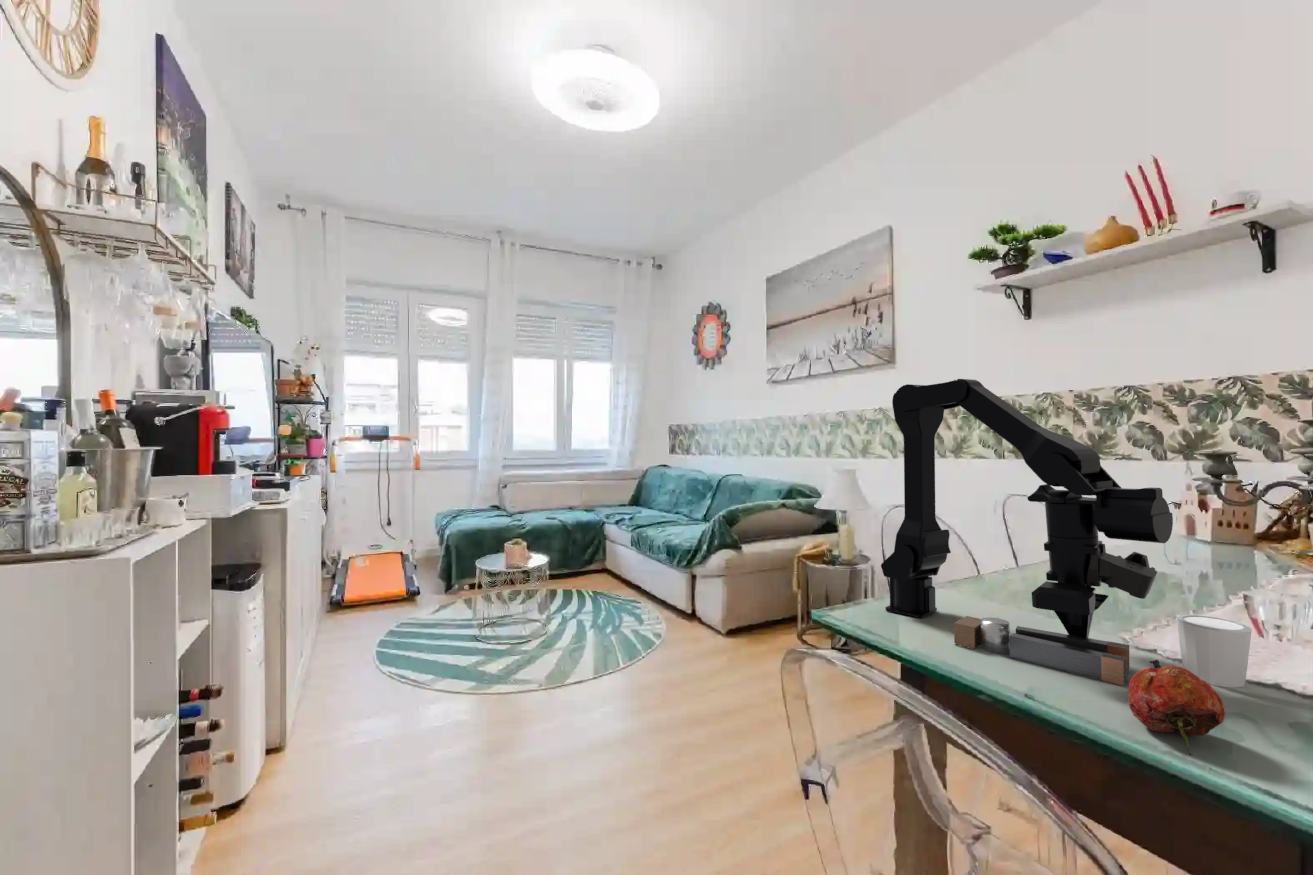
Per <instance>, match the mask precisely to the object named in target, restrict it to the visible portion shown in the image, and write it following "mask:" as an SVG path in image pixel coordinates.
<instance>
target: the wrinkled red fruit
mask: <svg viewBox="0 0 1313 875" xmlns="http://www.w3.org/2000/svg"><path fill="white" fill-rule="evenodd" d="M1149 663H1150V664H1152V665H1153V667H1152V666H1149V667H1146V668H1143V669H1141V670H1139V671H1137V672H1135V674H1134V675H1133V676H1132V677H1131V679H1130V680H1129V683H1128V688H1127V689H1128V690H1127V694H1128V695H1127V696H1128V706H1129V709H1130V712H1132V715H1133V716H1134V717H1135V718H1136V720H1138V721H1139V722H1140V723H1141V724H1142V725H1143V726H1145V727H1146V728H1147V729H1148V730H1150V731H1153V732H1155V733H1156V732H1157V733H1158V732H1159V733H1174V734H1175V733H1176V734H1180V735H1181V737H1182V739H1183V741H1184V743H1185V746H1186V748H1187V751H1188V753H1189V756H1192V752H1191V748H1190V747H1191V746H1190V745H1189V737H1188V736H1205V735H1207V734H1209V732H1210V731H1211V730H1213V729H1215V728H1216V727H1219V725H1221V724H1223V722H1224V720H1225V717H1226V710H1225V705H1224V702H1223V699H1222V698H1221V696H1220V694H1218V692H1217V691H1216V690H1215V689H1214V688H1213V687H1212V686H1211V684H1208V683H1206V682H1205V681H1203V680H1201V679H1200V678H1199V677H1198V676H1196V675H1194V674H1193V673H1191V672H1190V671H1188V670H1187V669H1184V668H1183V667H1181V666H1176V665H1175V666H1174V665H1166V666H1163V667H1162V666H1161V664H1160V661H1159V660H1158V659H1154V660H1152V661H1149Z"/></svg>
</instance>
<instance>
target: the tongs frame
mask: <svg viewBox="0 0 1313 875" xmlns="http://www.w3.org/2000/svg"><path fill="white" fill-rule="evenodd" d="M953 626H954V628H953V630H954V631H953V632H954V633H953V635H954V637H953V638H954V643H956V644H958V645H961V646H960V647H962V646H963V648H966V647H969V648H968V649H970V648H972V649H971V650H977V649H979V647H980V648H981V649H982V650H984V651H986V652H989V653H992V654H1004V655H1005V654H1009V658H1010V659H1016V660H1020V661H1023V662H1028V663H1032V664H1035V665H1039V666H1044V667H1047V668H1050V669H1051V668H1052V669H1055V670H1059V671H1064V672H1067V673H1072V674H1075V675H1080V676H1084V677H1088V678H1093V679H1094V680H1095V679H1096V680H1100V681H1103V682H1106V683H1110V684H1114V685H1115V684H1116V685H1119V686H1123V687H1124V686H1125V685H1126V683H1128V681H1127V680H1128V677H1127V676H1128V672H1127V658H1126V657H1121V656H1117V655H1112V654H1108V653H1102V652H1097V651H1093V650H1088V649H1084V648H1079V647H1075V646H1070V645H1066V644H1061V643H1056V642H1052V641H1047V640H1043V639H1038V638H1034V637H1029V636H1024V635H1020V634H1016V632H1015V633H1014V632H1013V633H1011V634H1010V629H1011V628H1010V622H1009V621H1008V620H1006V619H1002V618H999V617H989V616H987V617H982V618H979V617H978V618H977V617H973V616H969V615H967V616H964V617H963V618H960V619H958V620H957V621H955V622H953ZM954 643H953V644H954ZM958 645H957V646H958Z"/></svg>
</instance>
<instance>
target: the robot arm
mask: <svg viewBox="0 0 1313 875" xmlns="http://www.w3.org/2000/svg"><path fill="white" fill-rule="evenodd" d="M891 403H892V409H893V410H892V411H893V417H894V421H895V423H896V424H897V425H896V426H898V429H899V430H900V432H901V434H902V437H903V469H904V470H903V476H904V477H903V478H904V479H903V485H904V486H903V487H904V488H903V490H904V491H903V493H904V495H903V496H904V519H903V520H902V522H901V524H900V526H899V528H898V531H897V532H896V535H895V542H894V547H893V548H894V549H893V552H892V553H891V554H890V555H889V556H888V557H887V558H886V559H885V560H884V561H883V562H882V563H881V564H880V567H881V571H882V574H883V576H884V577H886V578H889V605H887V606H885V611H888V612H893V613H896V614H897V613H898V614H901V615H906V616H910V617H914V618H918V619H919V618H920V619H921V618H922V619H923V618H924V617H926V616H928V615H931V614H933V613H935V612H937V611H938V608H937V607H936V587H935V586H934V585H933V577H932V576H935V577H936V576H937V575H938V574H939V570H940V568H941V567H942V565H943V564H944V563H946V561H947V558H948V555H949V554H951V552H952V550H951V548H950V545H949V542H950V530H949V529H942V528H941V526H940V525H939V523H938V520H937V518H936V466H935V465H936V455H935V452H936V448H935V443H936V442H935V440H936V439H935V438H936V434H937V433H938V431H939V429H940V427H941V424H942V422H943V421H944V416H945V411H946V410H950V409H954V408H959V407H961V408H962V409H964V411H966V412H968V414H970V415H972V416H973V417H974V418H975V419H977V420H978V421H980V423H982V424H984V425H985V426H986V427H987V428H988V429H990V430H992V431H993V432H994V433H996V434H997V435H998V436H999V437H1001V438H1002V439H1004V440H1005V441H1006V442H1008V443H1009V444H1010V445H1012V447H1014V448H1015V449H1016V451H1018V453H1019V454H1020V455H1021V457H1022V459H1023V460H1024V463H1025V464H1026V466H1027V467H1028V468H1030V470H1031V471H1032V472H1033V473H1034V474H1035V476H1037V477H1038V478H1039V479H1040V480H1041V481H1042V482H1043V483H1045V484H1040V485H1038V488H1037V489H1036V490H1035V491H1034V492H1033V493H1031V494H1030V495H1028V496H1027V501H1028V502H1034V503H1035V502H1036V503H1044V508H1045V510H1044V511H1045V520H1046V531H1047V541H1046V542H1044V543H1043V550H1044V551H1045V552H1048V557H1049V559H1048V560H1049V571H1047V572H1046V574H1045V577H1046V581H1045V582H1043V583H1042V584H1041V585H1039V586H1038V587H1037V588H1035V589H1034V590H1033V591H1031V604H1032V607H1033V608H1035V609H1039V610H1046V611H1052V612H1053V611H1054V613H1055V615H1056V616H1057V618H1058V620H1060V622H1061V624H1062V626H1063V627H1064V629H1065V631H1066V633H1067V635H1073V636H1079V637H1085V638H1089V636H1090V631H1091V627H1092V626H1091V625H1092V621H1093V617H1094V616H1093V615H1094V614H1095V613H1094V612H1095V611H1096V610H1098V609H1099V608H1100V607H1101V606H1102V605H1103V604H1104V603H1105V601H1107V599H1108V598H1109V595H1108V594H1101V593H1096V588H1097V587H1098V588H1099V587H1101V586H1102V583H1103V584H1105V585H1107V587H1108V588H1112V589H1118V590H1121V591H1123V592H1125V593H1128V594H1129V595H1130V596H1132V597H1134V598H1138V599H1142V600H1145V599H1146V598H1147V596H1148V595H1149V593H1150V592H1151V589H1152V586H1153V584H1154V581H1155V579H1156V576H1157V574H1158V571H1157V570H1156V568H1155V567H1153V566H1152V567H1150V563H1149V559H1148V556H1147V555H1145V554H1142V553H1141V552H1137V551H1133V552H1132V553H1130V554H1129V555H1127V556H1126V557H1122V556H1121V555H1114V554H1110V553H1108V552H1106V544H1105V543H1103V541H1102V540H1099V533H1103V534H1104V536H1105V538H1108V539H1111V540H1120V541H1121V540H1122V541H1134V542H1146V543H1154V544H1155V543H1156V544H1157V543H1158V544H1165V543H1167V542H1169V540H1170V538H1171V535H1172V533H1173V527H1174V525H1173V524H1174V520H1173V519H1174V518H1173V513H1172V512H1171V511H1170V506H1169V504H1168V502H1167V500H1166V499H1165V498H1164V497H1163V496H1164V495H1163V489H1162V488H1161V487H1143V488H1122V487H1121V485H1119V483H1117V481H1116V480H1115V479H1114V478H1113V477H1112V476H1111V475H1110V474H1109V473H1108V471H1107V470H1106V469H1105V468H1104V467H1103V466H1101V457H1100V454H1098V452H1096V451H1095V449H1093V448H1092V447H1090V446H1088V445H1085V444H1084V443H1082V442H1080V441H1077V440H1075V439H1073V438H1071V437H1068V436H1065V435H1063V434H1059V433H1057V432H1054V431H1051V430H1049V429H1047V428H1046V427H1043V426H1042V425H1040V424H1038V423H1037V422H1036V421H1034V420H1033V419H1031V418H1030V417H1029V416H1027V415H1026V414H1025V413H1023V412H1021V411H1020V410H1018V409H1017V408H1015V407H1014V406H1013V405H1011V404H1009V403H1008V402H1007V401H1005V400H1004V399H1002V398H1000V397H999V396H998V395H997V394H995V393H993V392H992V391H991V390H990V389H988V388H986V387H985V386H984V385H983V384H982V382H981V381H978V380H977V379H971V378H970V379H968V378H956V379H953V380H949V381H947V382H940V383H934V384H925V385H924V384H904V385H902V386H900V387H899V388H898V389H897V390H896V391H895V392H894V393H893V396H892V400H891ZM1054 487H1058V488H1060V487H1062V488H1064V489H1055V488H1054ZM1087 496H1089V497H1087ZM1093 496H1095V497H1093Z"/></svg>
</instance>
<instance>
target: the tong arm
mask: <svg viewBox="0 0 1313 875" xmlns="http://www.w3.org/2000/svg"><path fill="white" fill-rule="evenodd" d="M1015 634H1020V635H1024V636H1029V637H1034V638H1038V639H1043V640H1047V641H1052V642H1056V643H1061V644H1066V645H1070V646H1075V647H1079V648H1084V649H1088V650H1093V651H1097V652H1102V653H1108V654H1112V655H1117V656H1121V657H1126V658H1127V673H1130V669H1131V668H1130V667H1131V666H1130V664H1131V663H1130V661H1131V660H1130V644H1128V643H1127V644H1126V643H1120V642H1115V641H1114V642H1113V641H1109V640H1108V641H1107V640H1101V639H1095V638H1089V637H1088V638H1085V637H1079V636H1073V635H1069V634H1068V633H1067V634H1065V633H1061V632H1056V631H1049V630H1045V629H1044V630H1043V629H1037V628H1032V627H1024V626H1019V625H1016V627H1015Z"/></svg>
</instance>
